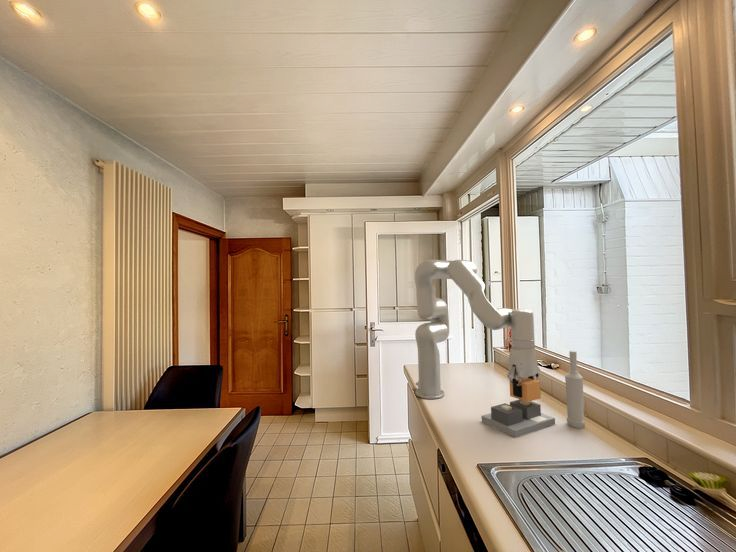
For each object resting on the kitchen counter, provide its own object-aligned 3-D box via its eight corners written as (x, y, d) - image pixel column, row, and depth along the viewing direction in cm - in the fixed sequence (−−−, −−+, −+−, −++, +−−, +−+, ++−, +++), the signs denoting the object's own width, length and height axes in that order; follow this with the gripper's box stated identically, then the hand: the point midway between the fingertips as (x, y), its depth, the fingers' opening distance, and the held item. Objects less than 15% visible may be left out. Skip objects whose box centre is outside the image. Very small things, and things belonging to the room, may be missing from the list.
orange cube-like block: (510, 396, 117) (509, 379, 118) (523, 392, 121) (522, 376, 121) (527, 402, 111) (526, 384, 111) (540, 398, 114) (540, 381, 114)
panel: (481, 421, 116) (481, 404, 116) (519, 410, 125) (519, 394, 125) (515, 437, 103) (514, 418, 103) (555, 423, 112) (554, 406, 112)
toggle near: (501, 417, 112) (501, 406, 112) (506, 416, 113) (505, 404, 113) (507, 420, 110) (506, 408, 110) (512, 418, 111) (511, 407, 111)
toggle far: (520, 412, 116) (519, 401, 116) (524, 411, 117) (524, 399, 118) (526, 414, 114) (525, 403, 114) (530, 413, 115) (530, 401, 115)
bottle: (585, 429, 107) (582, 353, 108) (566, 426, 110) (563, 352, 111) (584, 423, 112) (581, 350, 112) (566, 420, 115) (564, 349, 115)
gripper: (529, 340, 124) (531, 387, 123) (497, 345, 116) (499, 395, 115) (548, 343, 117) (550, 393, 116) (515, 348, 109) (517, 402, 109)
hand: (525, 394), depth 116 cm, fingers closed on orange cube-like block, 7 cm apart
